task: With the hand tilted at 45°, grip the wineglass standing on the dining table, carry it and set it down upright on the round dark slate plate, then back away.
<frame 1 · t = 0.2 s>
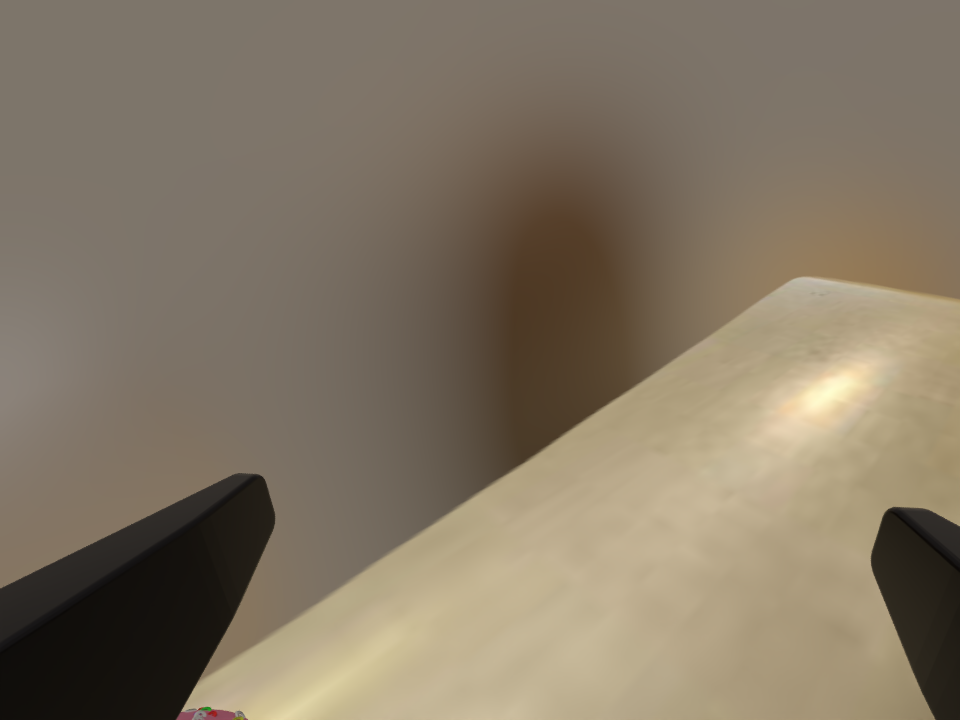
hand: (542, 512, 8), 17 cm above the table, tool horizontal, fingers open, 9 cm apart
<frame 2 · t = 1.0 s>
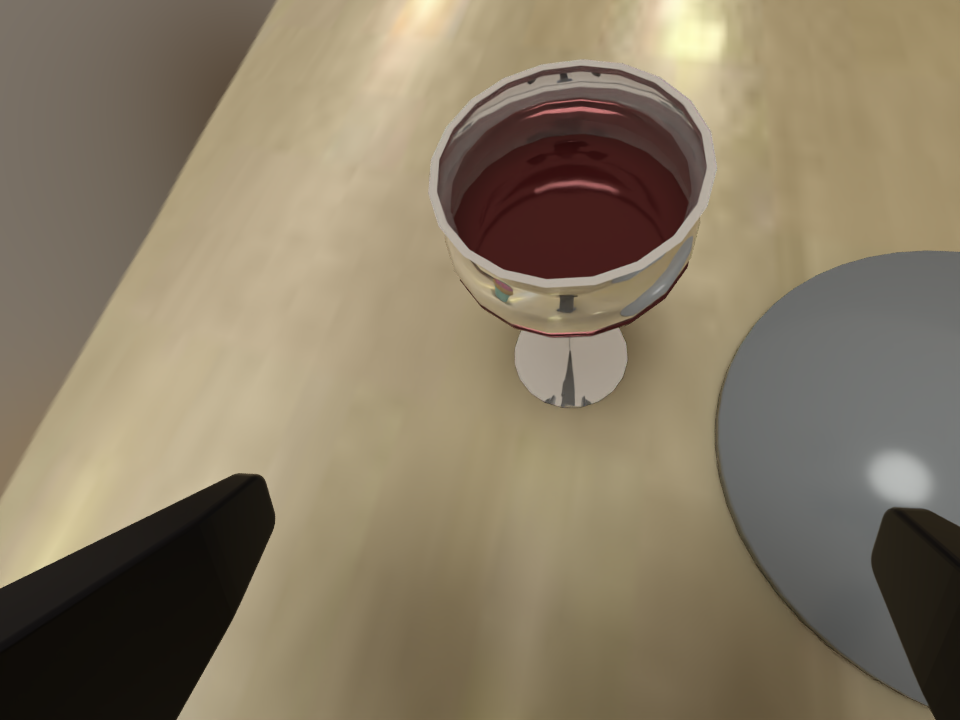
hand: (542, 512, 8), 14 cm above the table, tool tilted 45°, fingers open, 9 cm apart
wineglass: (569, 355, 23), on the table
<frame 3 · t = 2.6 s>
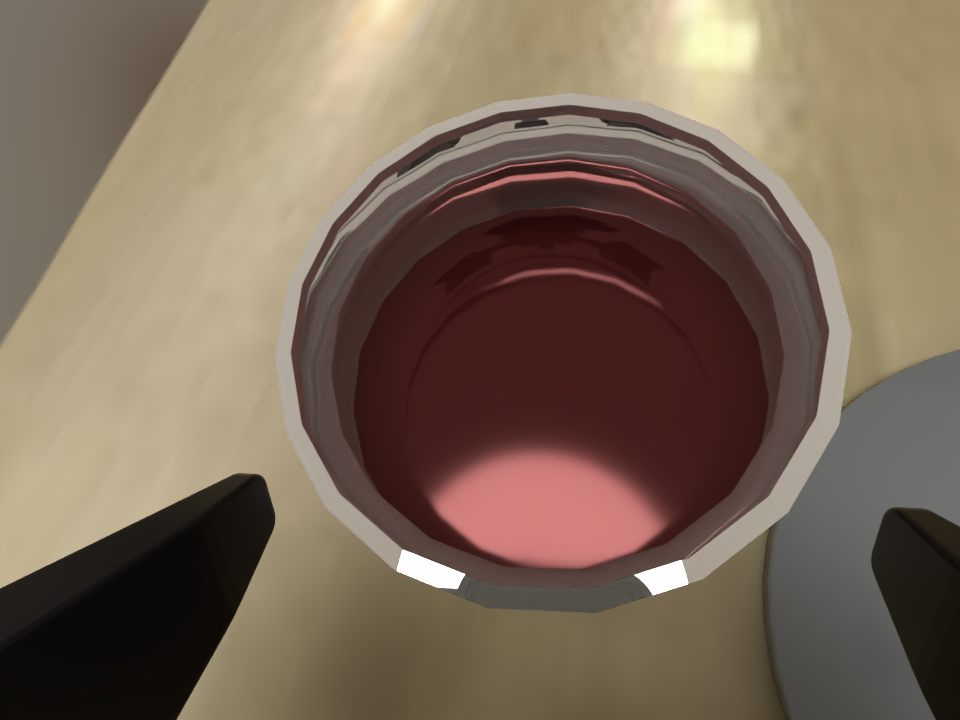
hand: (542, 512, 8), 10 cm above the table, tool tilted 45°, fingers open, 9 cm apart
wineglass: (561, 471, 17), on the table
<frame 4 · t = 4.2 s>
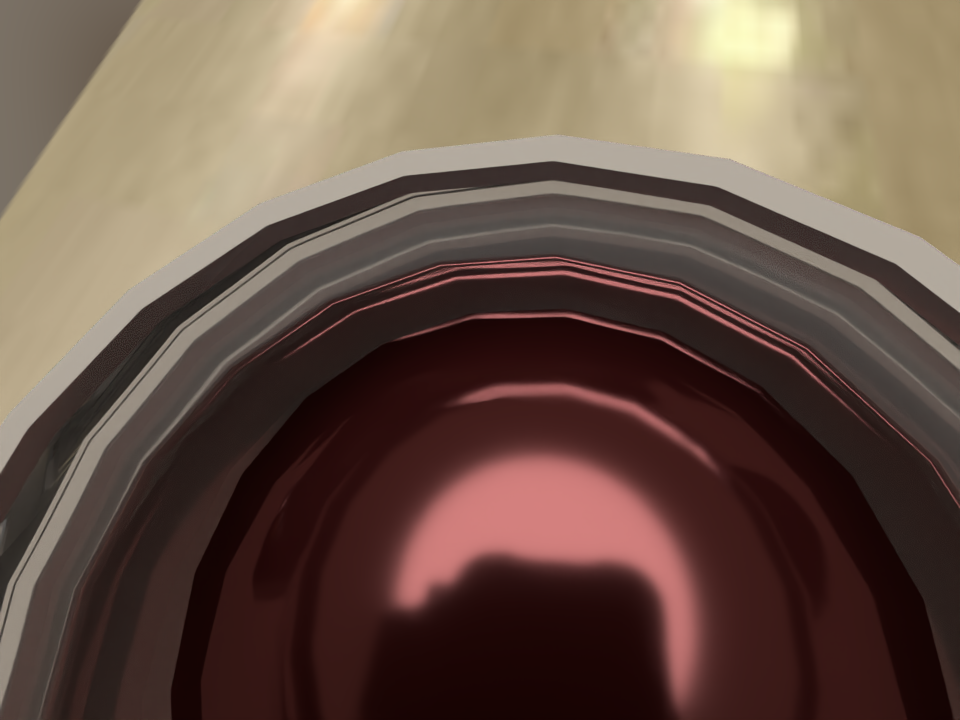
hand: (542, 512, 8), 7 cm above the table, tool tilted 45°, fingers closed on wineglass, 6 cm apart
wineglass: (555, 589, 13), on the table, touching gripper
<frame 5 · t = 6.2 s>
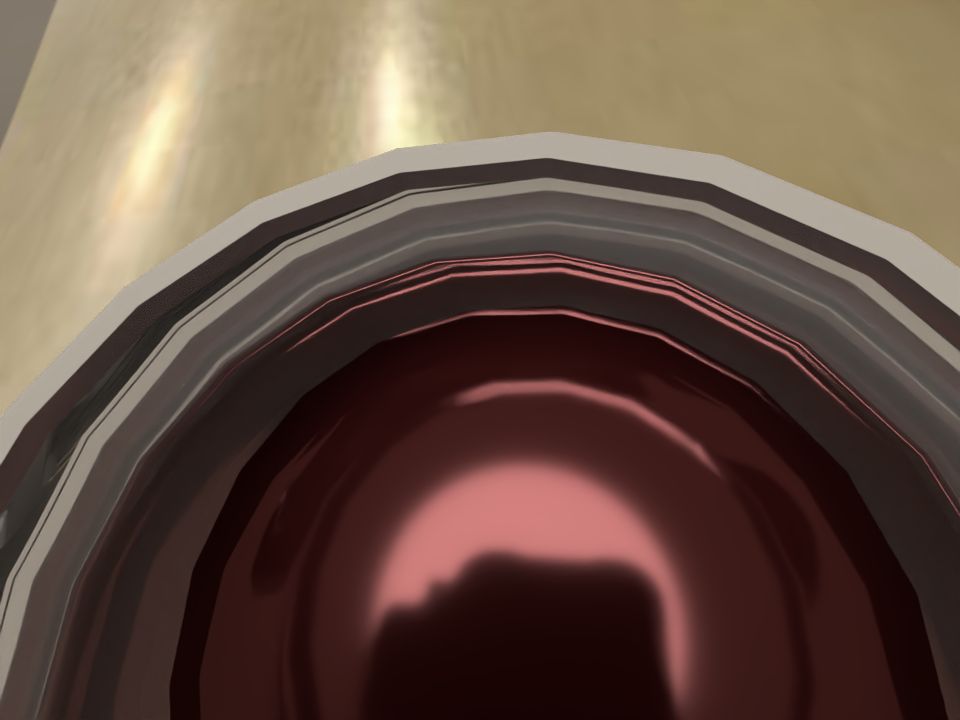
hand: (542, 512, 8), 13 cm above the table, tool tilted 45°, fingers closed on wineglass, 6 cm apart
wineglass: (554, 586, 14), point 6 cm above the table, touching gripper
when the fingers open (8 cm above the table, at t = 8.6 s): wineglass stays where it is, resting on slate plate.
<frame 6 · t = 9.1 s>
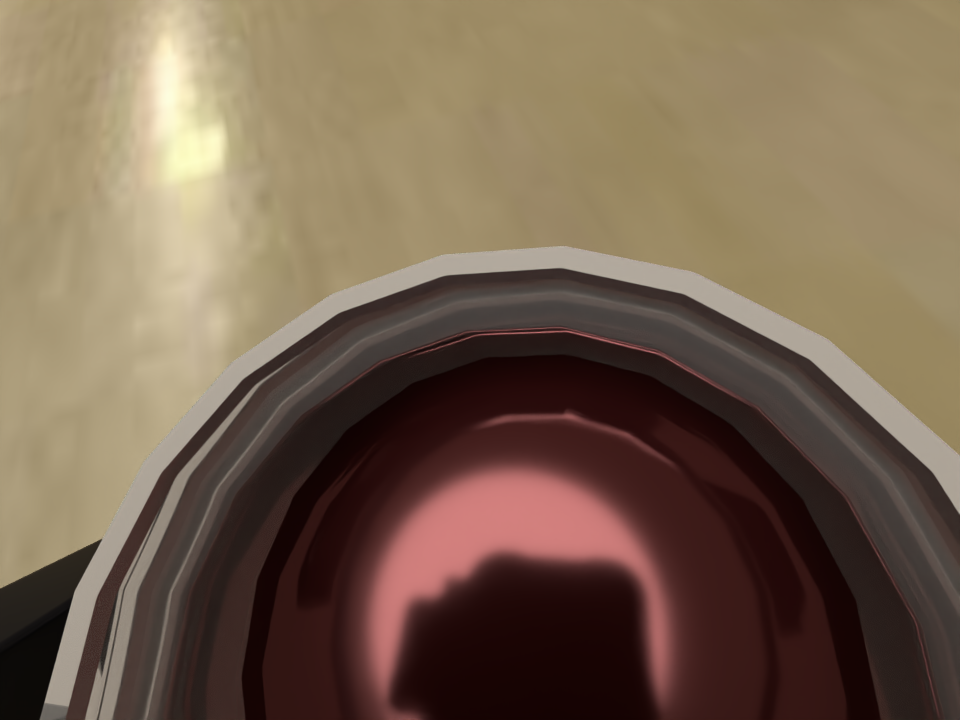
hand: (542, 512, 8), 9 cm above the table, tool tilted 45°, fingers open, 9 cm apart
wineglass: (556, 589, 15), point 1 cm above the table, touching slate plate
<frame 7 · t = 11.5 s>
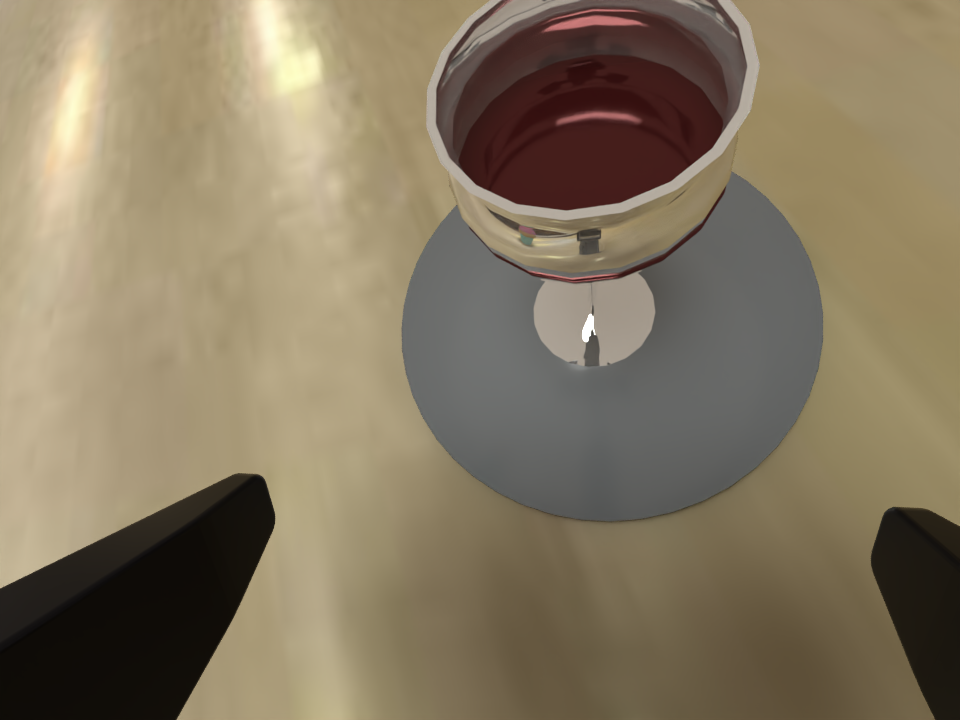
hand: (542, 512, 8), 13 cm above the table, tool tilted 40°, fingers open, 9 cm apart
wineglass: (592, 311, 22), point 1 cm above the table, touching slate plate
slate plate: (593, 315, 22), on the table
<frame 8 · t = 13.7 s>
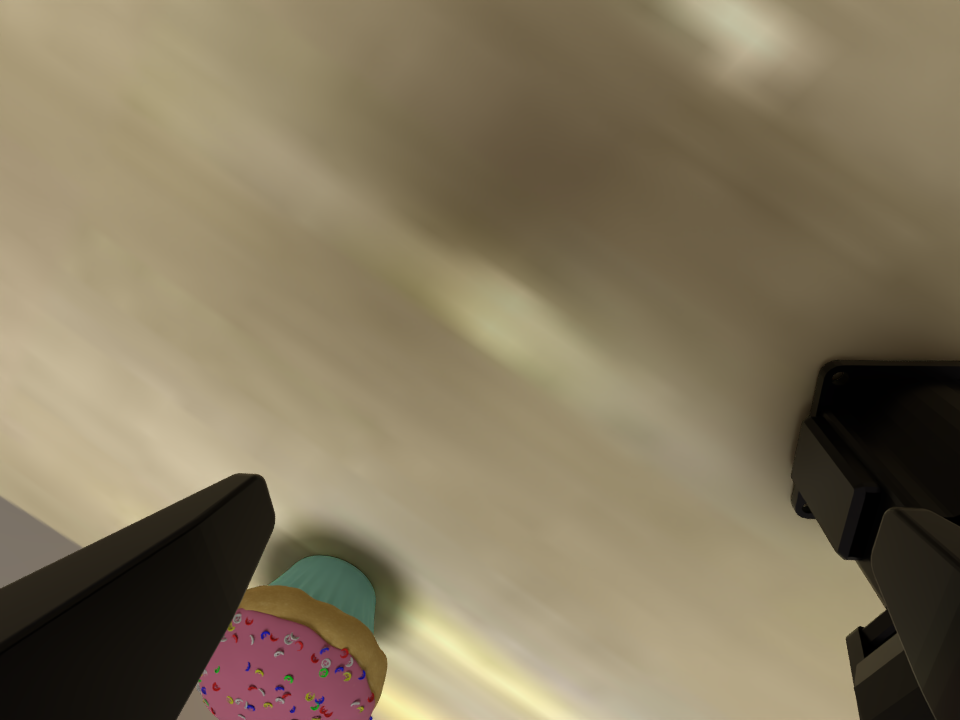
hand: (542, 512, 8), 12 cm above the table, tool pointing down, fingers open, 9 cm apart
cupcake: (333, 583, 27), on the table
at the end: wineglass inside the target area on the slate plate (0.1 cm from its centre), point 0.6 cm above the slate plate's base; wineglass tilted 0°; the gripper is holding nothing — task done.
